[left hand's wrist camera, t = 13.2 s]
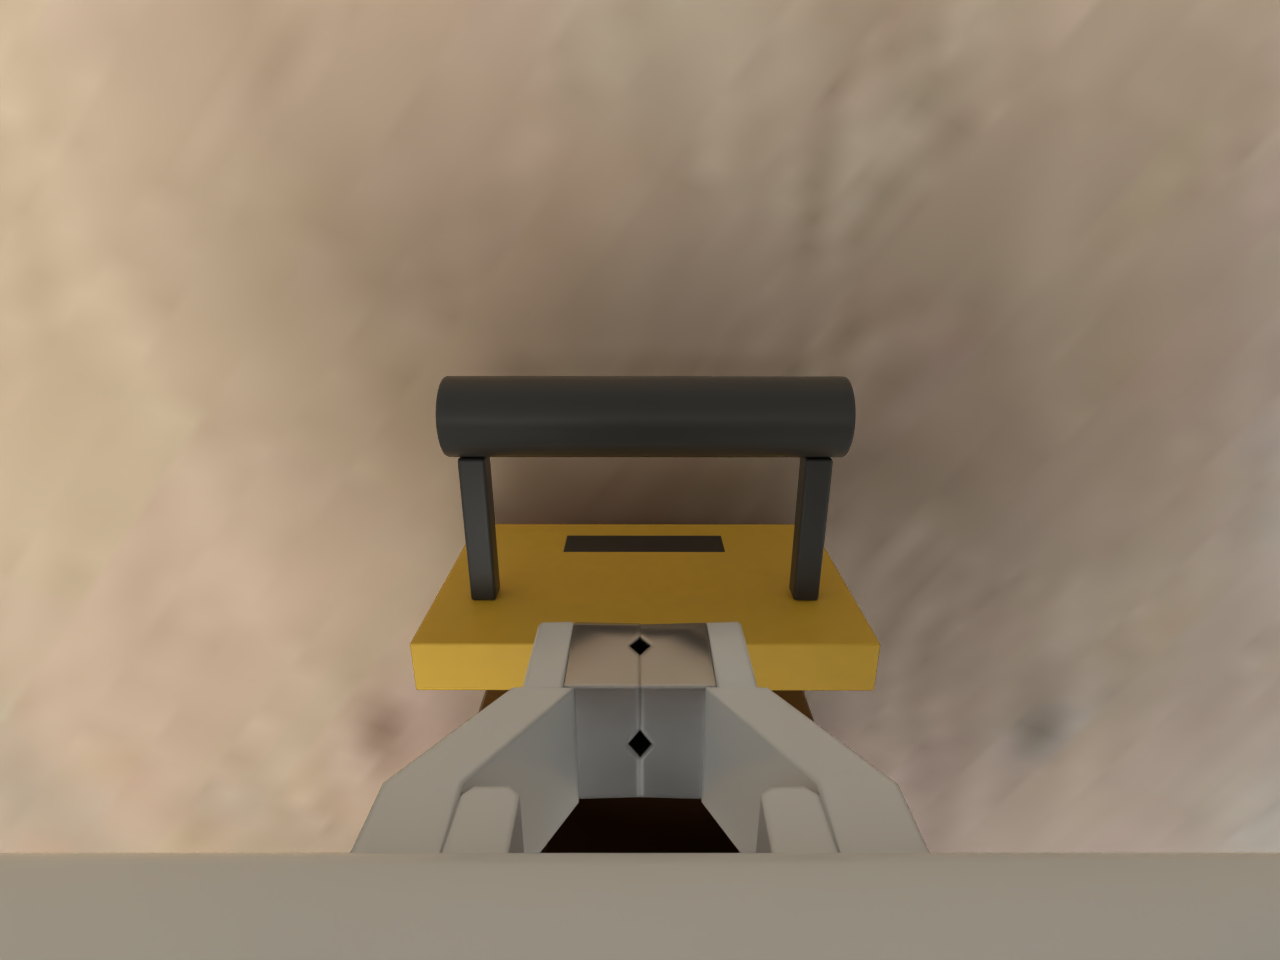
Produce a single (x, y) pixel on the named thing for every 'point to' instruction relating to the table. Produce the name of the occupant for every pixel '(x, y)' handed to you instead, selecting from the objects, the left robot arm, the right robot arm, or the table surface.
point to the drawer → (645, 555)
